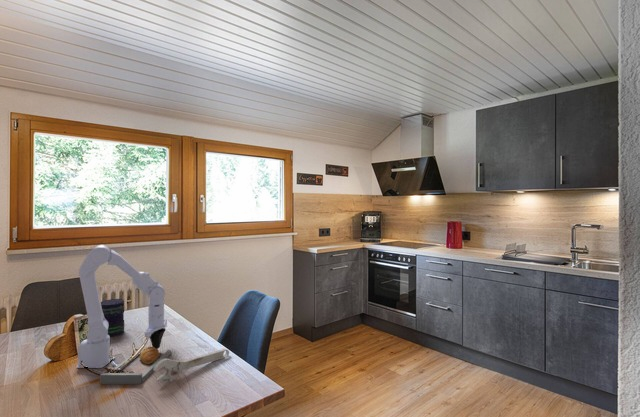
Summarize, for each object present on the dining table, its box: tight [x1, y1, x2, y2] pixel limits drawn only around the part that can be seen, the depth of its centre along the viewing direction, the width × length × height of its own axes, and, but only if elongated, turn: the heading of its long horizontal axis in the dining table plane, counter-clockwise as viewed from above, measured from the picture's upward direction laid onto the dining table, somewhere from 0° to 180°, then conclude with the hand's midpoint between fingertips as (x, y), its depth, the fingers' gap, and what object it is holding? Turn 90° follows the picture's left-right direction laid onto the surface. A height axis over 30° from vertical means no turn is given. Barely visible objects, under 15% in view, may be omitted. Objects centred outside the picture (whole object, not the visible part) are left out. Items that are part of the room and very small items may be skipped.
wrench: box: [153, 348, 230, 383], centre depth 120 cm, size 8×2×30 cm
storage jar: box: [100, 298, 125, 339], centre depth 154 cm, size 10×10×15 cm
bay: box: [99, 349, 172, 385], centre depth 122 cm, size 13×23×3 cm, turn 0°
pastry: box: [138, 346, 160, 365], centre depth 128 cm, size 9×7×4 cm
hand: (156, 348), depth 135 cm, fingers closed
